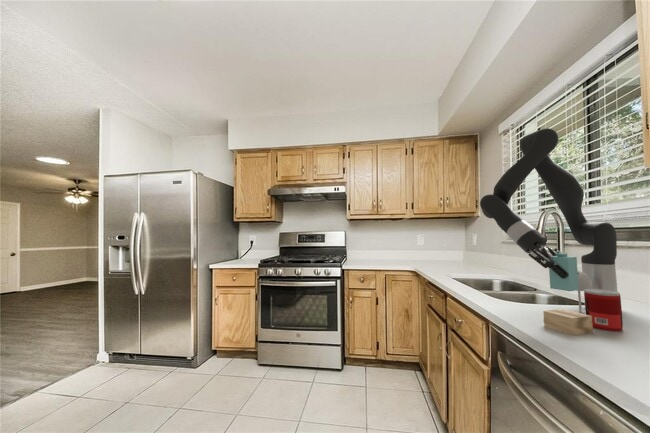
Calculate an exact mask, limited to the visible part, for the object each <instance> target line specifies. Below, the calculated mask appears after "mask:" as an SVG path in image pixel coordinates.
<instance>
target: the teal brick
mask: <svg viewBox="0 0 650 433" xmlns="http://www.w3.org/2000/svg"><path fill="white" fill-rule="evenodd" d="M552 257H553V260H554V261H555V262H556V263H557V264H558V265H559V266H560V267H562V268H563V269H564V270H565V271H566V272H567V273H568V274H569V276H568V277H566V278H565V279H562V278H561V277H560V276H558V275H557V274H556V273H555V272H554V271H553V270H552V269H549V268H548V271H549V272H548V273H549V288H550V289H553V290H557V291H558V290H559V291H565V292H574V291H575V292H576V290H579V285H578V257H577V256H571V255H570V256H568V253H567V252H566V253H565V252H561V253H557V256H552Z"/></svg>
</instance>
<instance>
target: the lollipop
mask: <svg viewBox="0 0 650 433" xmlns="http://www.w3.org/2000/svg"><path fill="white" fill-rule="evenodd" d="M578 273H579V274H578V285H579V290H575V292H576V291H577V298H578V299H577V300H578V310H579V312H578V313H582V314H583V308H582V299H581V298H582V296H581V292H584V290H585V289H589V288H590V287H591V285H592V281H591V278H590V277H589V276H588V275H587V274H585V273H583V272H582V271H578Z"/></svg>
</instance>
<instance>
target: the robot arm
mask: <svg viewBox="0 0 650 433" xmlns="http://www.w3.org/2000/svg"><path fill="white" fill-rule="evenodd" d="M559 142H560V136H559V134H558V132H557V131H556V130H554V129H552V128H548V127H547V128H542V129H539V130H537V131H533V132H532V133H528V134H526V135H525V136H523V137H522V138H521V140H520V142H519V147H520V150H521V153H522V154H523V156H522V157H521V158H520V159H519V160H518V161H516V162H515V163H514V164H513V165H512V166H510V168H509V169H507V171H505V172H504V173H503V175H502V176H501V177H500V179H498V181H497V182H496V183H495V185H494V186H493V187H494V188H493V192H492V194H491V193H490V194H486V195H484V196H482V198H481V199H480V201H479V206H480V209H481V211H482V214H483V215H484V216H485V217H486V218H488V219H493V220H494V221H495V222H496V224H497V226H498V228H500V229H501V230H502V231H503V232H504V233H505V234H507V235H508V237H509V238H510V240H512V242H514V243H515V244H516V245H517V246H518V247H519V248H520V249H522V250H523V252H525V253H526V254H528V256H529V258H531V259H532V260H534V261H535V262H537V263H538V264H539V265H540V266H541V267H543V268H544V269H548V270H549V269H552V270H553V271H554V272H555V273H556V274H557V275H558V276H560V277H561V278H562V279H565V278H566V277H568V276H569V274H568V273H567V272H566V271H565V270H564V269H563V268H562V267H560V266H559V265H558V264H557V263H556V262H555V261H554V260H553V257H552V256H557V253H562V252H561V251H560V250H559V249H558V248H552V247H551V246H548V245H547V241H548V239H547V237H546V236H545V235H543V234H542V233H541V232H540V231H538V230H537V229H536V228H535V227H534V226H532V225H531V224H530V223H528V222H527V221H525V220H524V219H523V218H521V216H520V215H518V214H516V212H514V211H513V210H512V209H511V208H510V206H508V205H509V203H510V201H511V199H512V197H513V195H514V194H515V193H516V191H518V189H519V188H520V186H521V185H522V183H523V182H524V181H525V180H526V179H527V178H528V176H529V175H530V174H531V173H532V172H533V170H534V169H535V171H536V172H537V174H538V176H539V177H540V179H541V180H542V182H543V183H544V185H545V187H546V189H547V190H548V192H549V194H550V195H551V197H552V198H553V200H554V201H555V203H556V204H557V206H558V208H559V210H560V211H561V214H562V215H563V217H564V219H565V221H566V223H567V225H568V228H569V230H570V232H571V234H572V237H573V238H574V239H575V240H576V242H577V243H578V244H579V245H581V246H589V247H590V246H592V247H593V250H592V251H591V252H589V253H586V254H583V255H581V258H580V259H581V261H580V262H581V270H582V271H581V272H583V273H585V274H587V275H588V276H589V277H590V278H591V281H592V285H591V287H590V288H589V289H601V290H610V291H615V292H619V291H618V282H617V271H616V258H617V255H618V253H617V252H618V251H617V247H618V246H617V244H618V243H617V238H618V237H617V232H616V228H615V227H614V226H613V224H611V223H610V222H608V221H607V222H606V221H597V222H596V221H595V222H593V221H592V222H589V221H588V220H587V219H586V217H585V216H584V214H583V211H582V207H583V202H584V195H585V193H584V189H583V187H582V186H581V184H580V182H579V181H578V179H577V177H576V176H575V175H574V174H573V173H571V172H570V171H569V170H567V169H565V168H564V167H563V166H561V165H559V164H558V163H556V162H555V161H554V160H553V159H552V158H551V156H550V155H549V154H551V153H552V152H553V151H554V150H555V149H556V148H557V146H558V144H559ZM578 274H579V273H578ZM583 301H584V302H585V298H584V297H583Z"/></svg>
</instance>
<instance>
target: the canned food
mask: <svg viewBox="0 0 650 433" xmlns="http://www.w3.org/2000/svg"><path fill="white" fill-rule="evenodd" d="M584 298H585V301H584V307H585V308H584V310H585V314H586V315H590V316H592V325H593V329H597V330H601V331H602V330H603V331H609V332H610V331H611V332H621V331H623V328H624V322H623V311H622V308H623V307H622V299H621V293H620V292H619V291H618V292H615V291H610V290H601V289H585V290H584V291H583V299H584Z"/></svg>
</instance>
